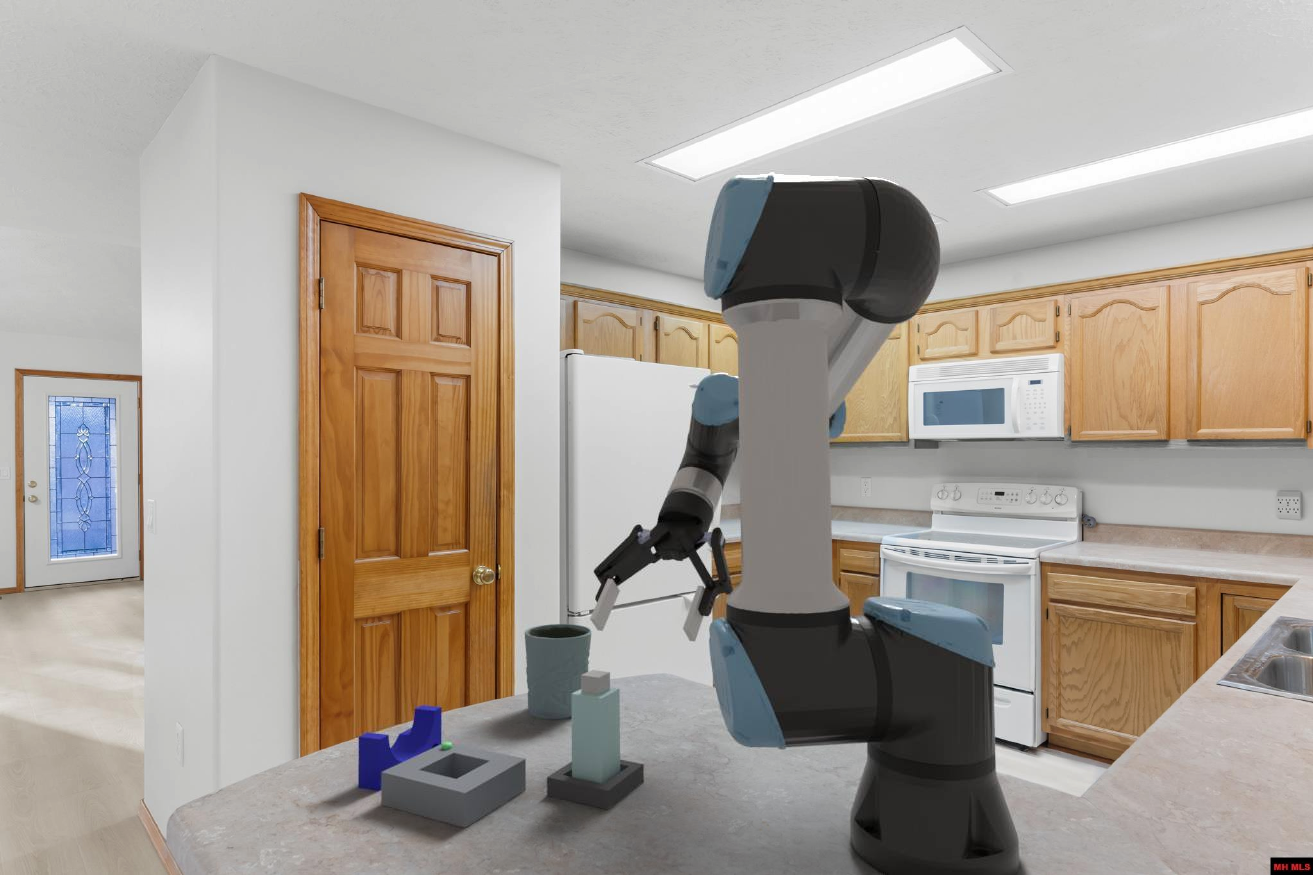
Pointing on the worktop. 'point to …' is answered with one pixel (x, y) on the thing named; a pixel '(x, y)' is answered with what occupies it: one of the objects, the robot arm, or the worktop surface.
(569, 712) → the grey-green tumbler cup
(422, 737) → the cable clip
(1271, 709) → the worktop surface
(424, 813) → the block
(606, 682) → the capped teal pillar
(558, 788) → the frame
